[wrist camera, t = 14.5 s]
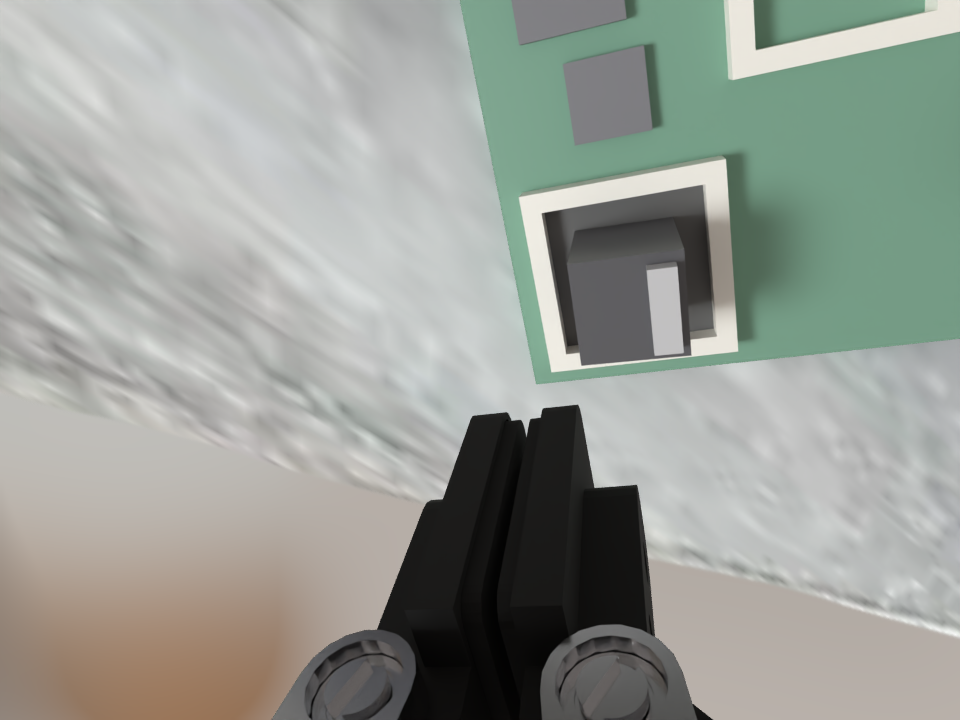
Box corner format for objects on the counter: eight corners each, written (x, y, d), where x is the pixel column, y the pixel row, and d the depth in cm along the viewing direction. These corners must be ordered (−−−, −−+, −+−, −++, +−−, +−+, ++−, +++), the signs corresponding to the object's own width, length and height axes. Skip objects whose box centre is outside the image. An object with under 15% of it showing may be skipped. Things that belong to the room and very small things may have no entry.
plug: (574, 230, 27) (565, 269, 22) (672, 216, 26) (685, 253, 21) (586, 318, 29) (580, 372, 24) (679, 308, 28) (693, 362, 23)
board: (457, -40, 25) (444, -48, 23) (996, -195, 21) (1036, -222, 19) (538, 373, 32) (533, 393, 30) (956, 326, 27) (982, 347, 25)
